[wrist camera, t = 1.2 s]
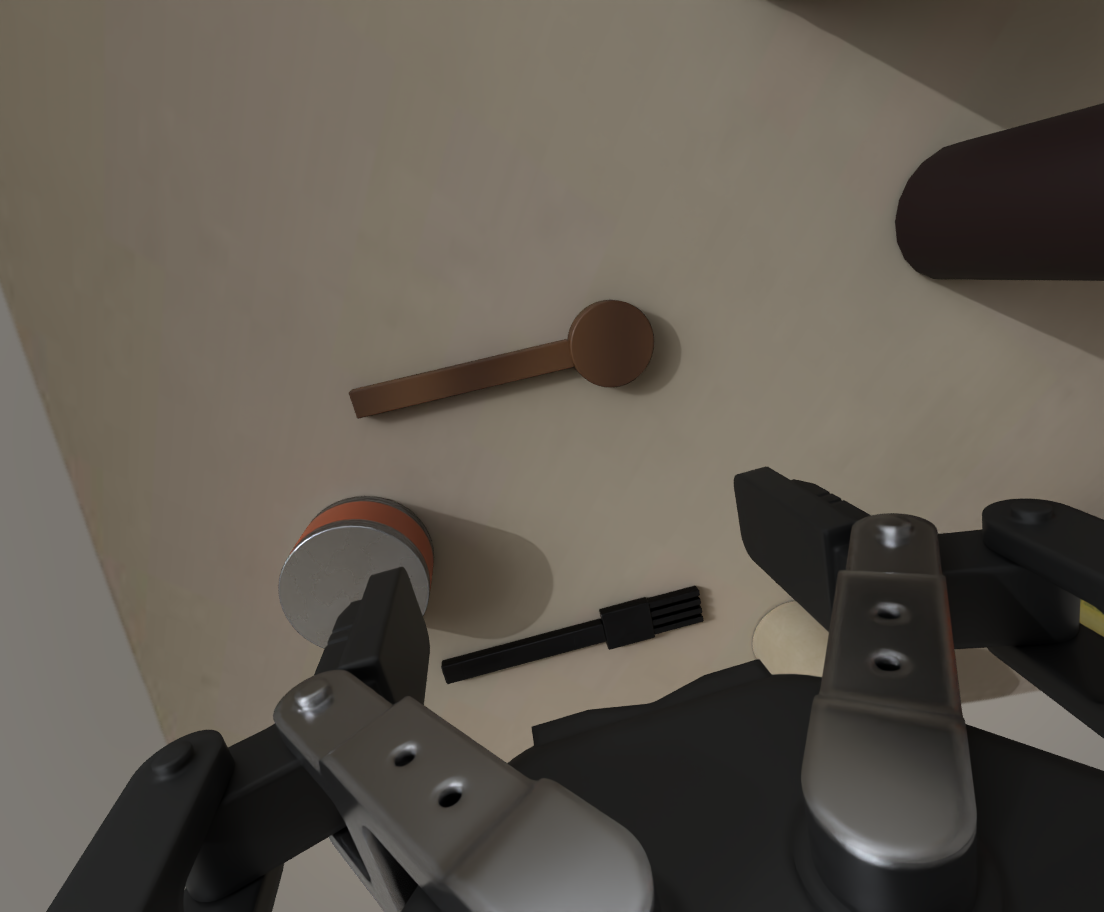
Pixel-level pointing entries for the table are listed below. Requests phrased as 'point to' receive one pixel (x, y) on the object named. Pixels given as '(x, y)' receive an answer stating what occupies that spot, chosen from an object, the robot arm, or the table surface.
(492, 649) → the fork
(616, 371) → the spoon
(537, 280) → the table surface
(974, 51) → the table surface
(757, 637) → the candle
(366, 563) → the tin can
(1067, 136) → the vinegar
